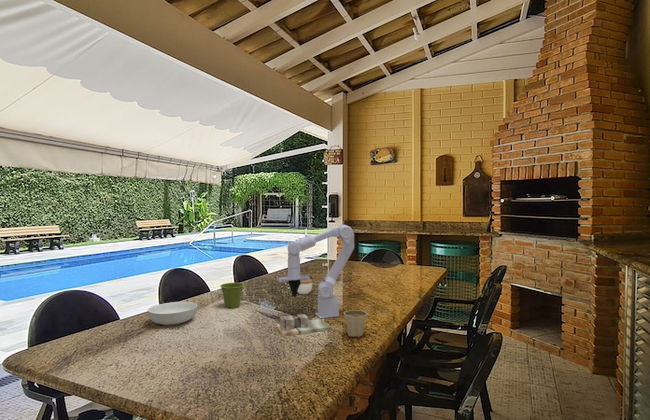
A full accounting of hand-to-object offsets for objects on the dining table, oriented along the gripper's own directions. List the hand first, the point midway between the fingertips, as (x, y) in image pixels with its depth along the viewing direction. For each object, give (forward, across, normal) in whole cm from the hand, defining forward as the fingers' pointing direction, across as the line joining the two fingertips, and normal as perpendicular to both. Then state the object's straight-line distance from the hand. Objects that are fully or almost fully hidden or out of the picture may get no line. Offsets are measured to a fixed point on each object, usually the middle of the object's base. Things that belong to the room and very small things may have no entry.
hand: (294, 296), depth 177 cm
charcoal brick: (+8, +4, +18) cm, 20 cm away
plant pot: (+10, +25, -29) cm, 39 cm away
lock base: (+9, +1, +18) cm, 20 cm away
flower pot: (+10, -16, +33) cm, 38 cm away
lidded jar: (+10, -18, -43) cm, 48 cm away
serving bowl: (+10, +53, -13) cm, 55 cm away
